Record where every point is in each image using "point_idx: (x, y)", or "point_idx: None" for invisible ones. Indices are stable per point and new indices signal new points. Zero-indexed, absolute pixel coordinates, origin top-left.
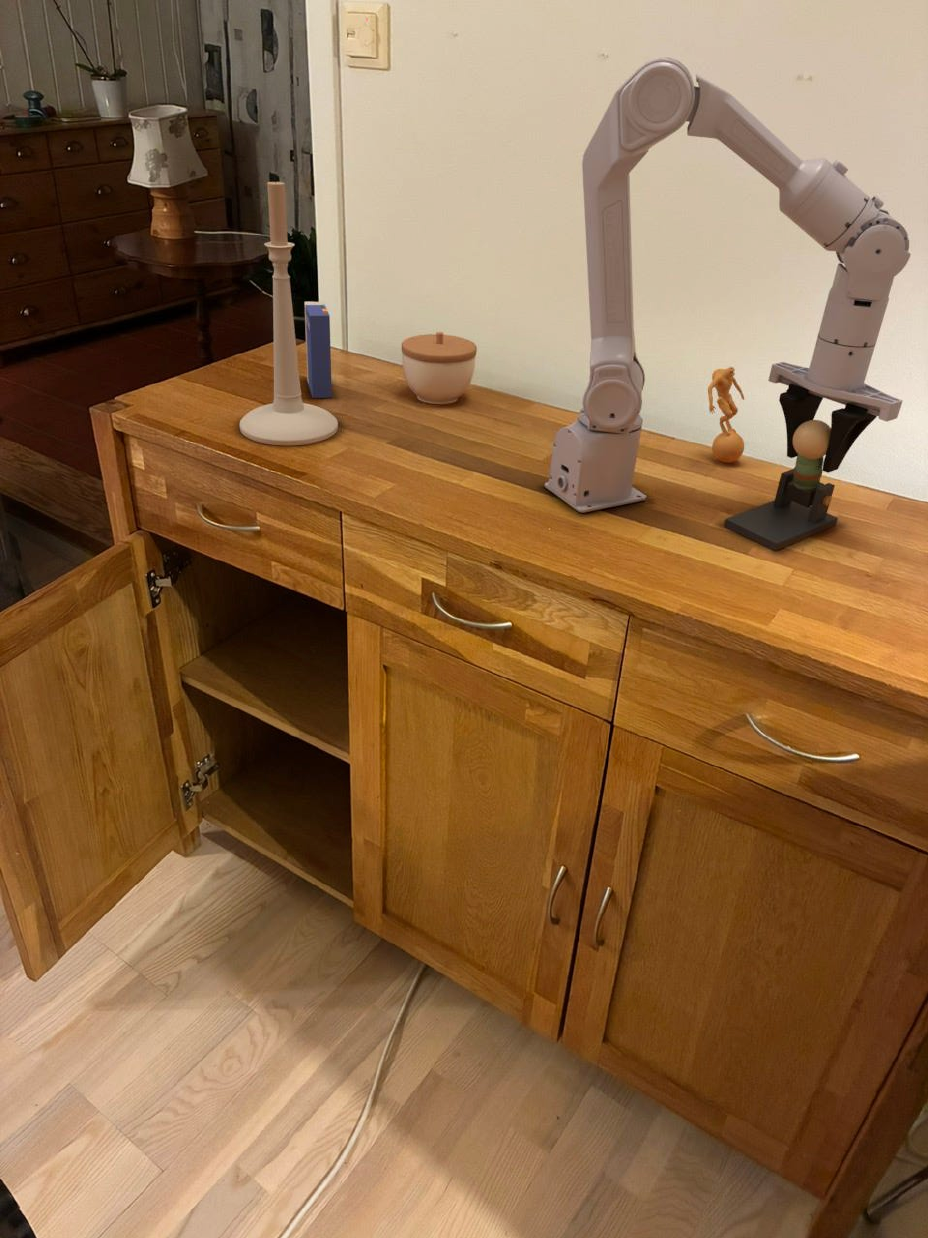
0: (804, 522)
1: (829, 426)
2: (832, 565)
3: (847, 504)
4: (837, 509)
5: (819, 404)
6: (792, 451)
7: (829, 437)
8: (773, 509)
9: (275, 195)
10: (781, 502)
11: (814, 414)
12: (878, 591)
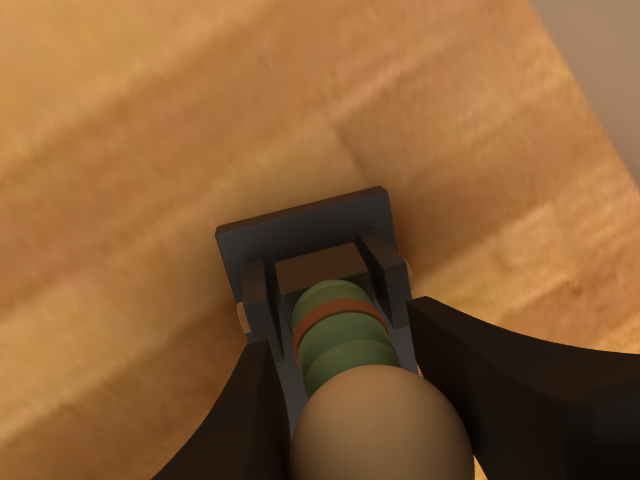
0: (374, 300)
1: (441, 473)
2: (513, 331)
3: (283, 32)
4: (301, 97)
5: (250, 469)
6: (288, 421)
7: (474, 471)
8: (284, 328)
9: None
10: (277, 308)
11: (257, 442)
12: (621, 315)
